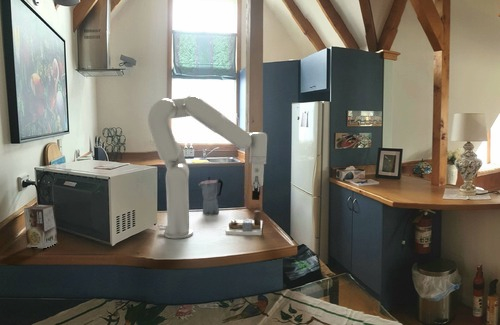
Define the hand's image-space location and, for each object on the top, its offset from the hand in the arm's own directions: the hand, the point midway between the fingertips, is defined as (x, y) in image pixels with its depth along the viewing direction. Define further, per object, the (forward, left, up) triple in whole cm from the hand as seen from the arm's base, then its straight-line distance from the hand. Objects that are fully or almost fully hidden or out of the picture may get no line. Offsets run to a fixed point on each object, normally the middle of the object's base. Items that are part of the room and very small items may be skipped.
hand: (256, 197), depth 156 cm
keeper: (-7, -1, -15) cm, 16 cm away
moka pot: (-26, +31, -16) cm, 44 cm away
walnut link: (-5, 0, -14) cm, 15 cm away
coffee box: (-85, -25, -16) cm, 90 cm away
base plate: (-5, +4, -16) cm, 18 cm away
